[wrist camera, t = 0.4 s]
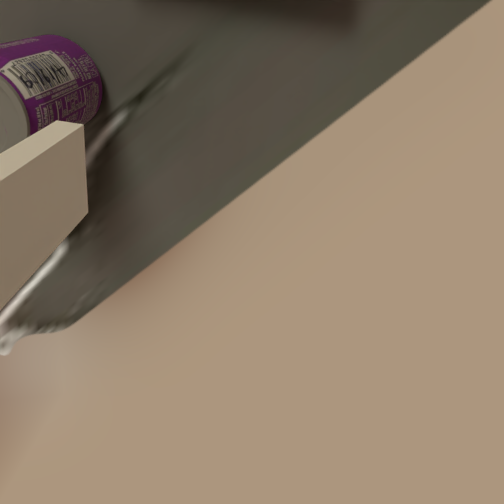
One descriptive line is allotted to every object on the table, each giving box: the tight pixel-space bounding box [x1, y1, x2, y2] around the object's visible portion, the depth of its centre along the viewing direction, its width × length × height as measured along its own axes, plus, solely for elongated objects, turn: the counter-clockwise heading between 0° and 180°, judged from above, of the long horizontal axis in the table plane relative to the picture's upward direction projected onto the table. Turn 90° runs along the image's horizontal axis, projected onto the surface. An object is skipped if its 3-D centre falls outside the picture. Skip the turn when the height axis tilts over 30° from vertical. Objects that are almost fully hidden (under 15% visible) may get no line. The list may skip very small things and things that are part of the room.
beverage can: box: [0, 35, 102, 154], centre depth 33 cm, size 7×7×12 cm
